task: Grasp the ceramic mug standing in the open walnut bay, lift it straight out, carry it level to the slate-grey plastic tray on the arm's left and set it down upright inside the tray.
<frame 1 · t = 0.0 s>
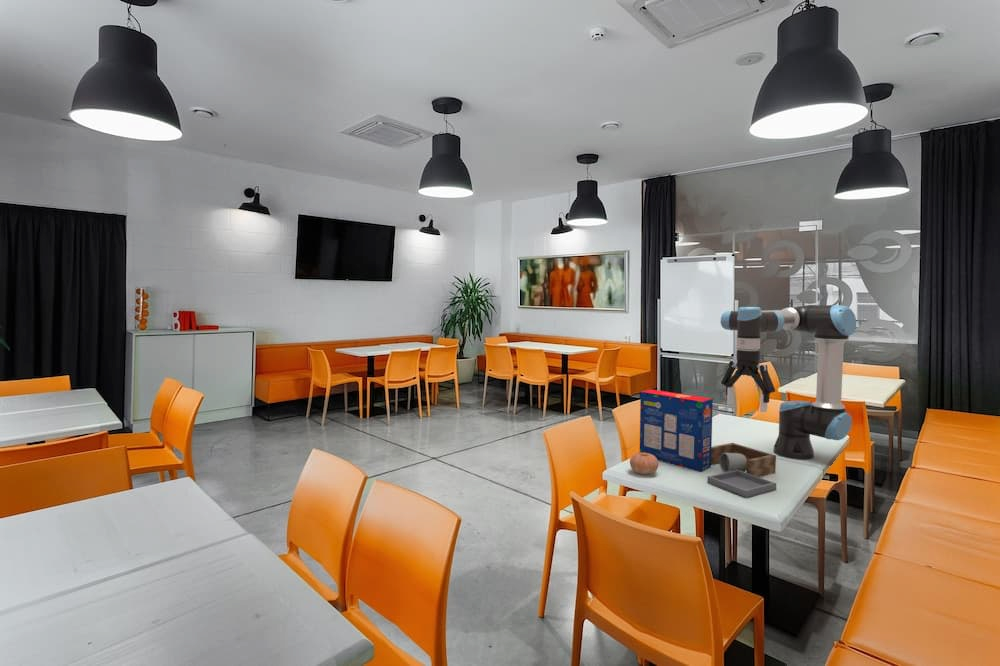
hand: (746, 407, 185), 28 cm above the table, fingers open, 13 cm apart
ceramic mug: (730, 471, 200), on the table
pasta box: (673, 461, 212), on the table
tray: (741, 486, 183), on the table
bay: (731, 470, 200), on the table
orange ribbed round gourd: (643, 473, 198), on the table
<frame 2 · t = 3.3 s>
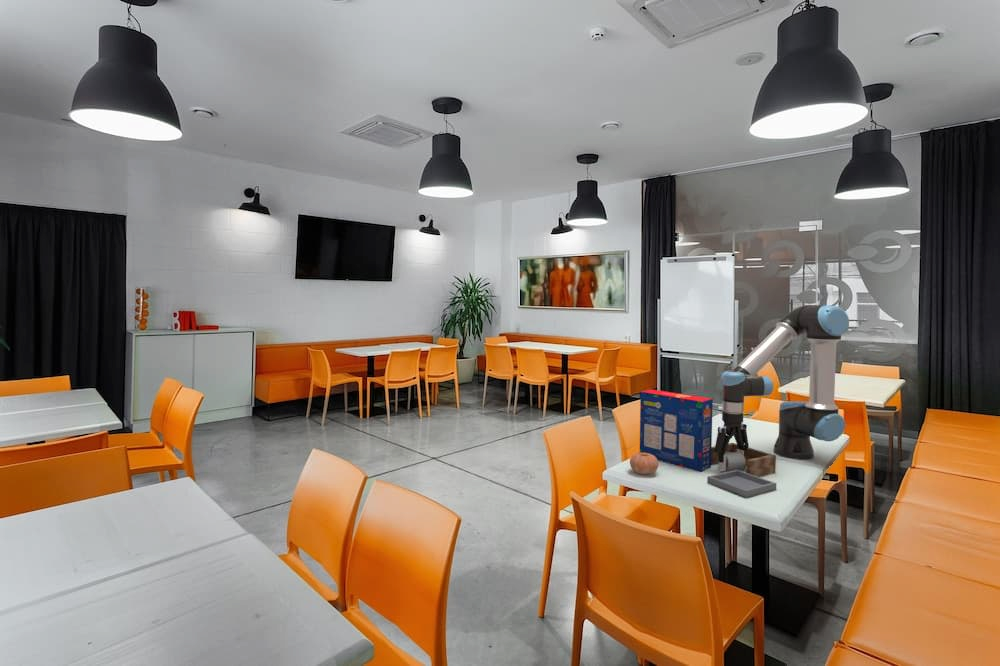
hand: (731, 468, 200), 1 cm above the table, fingers closed on ceramic mug, 9 cm apart
ceramic mug: (729, 470, 201), on the table, touching gripper
everything else where it was.
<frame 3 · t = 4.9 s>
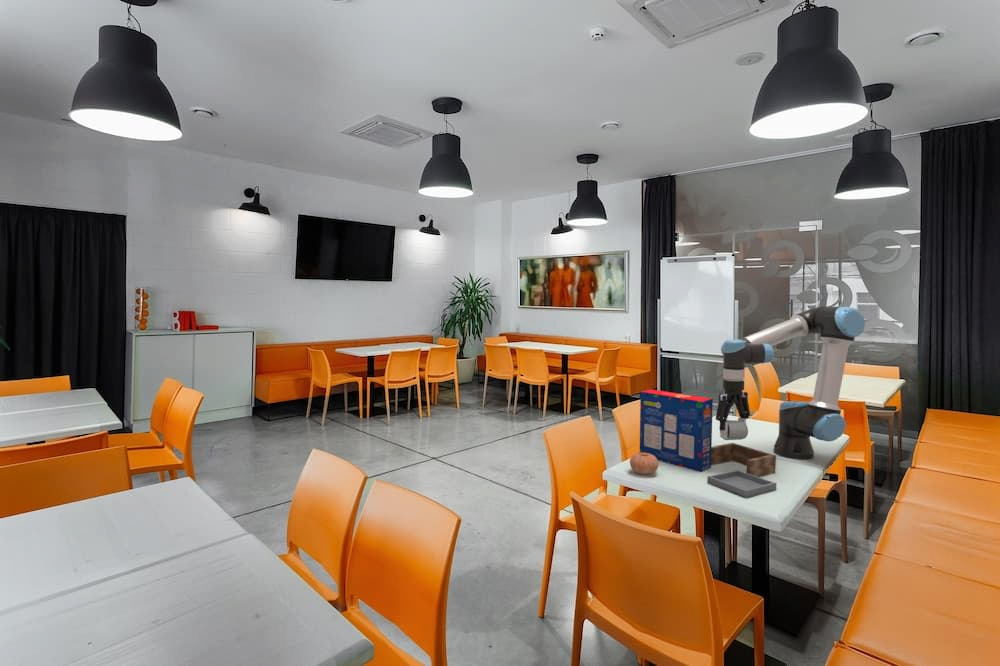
hand: (732, 436, 199), 14 cm above the table, fingers closed on ceramic mug, 9 cm apart
ceramic mug: (731, 439, 200), point 12 cm above the table, touching gripper
everything else where it was.
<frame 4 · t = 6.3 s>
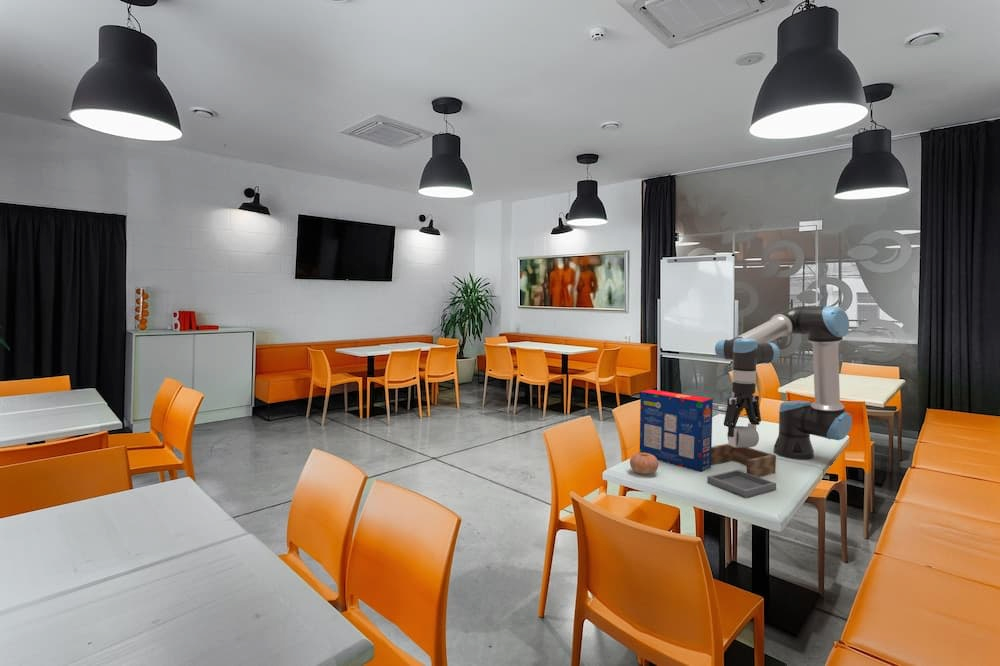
hand: (741, 443, 182), 16 cm above the table, fingers closed on ceramic mug, 9 cm apart
ceramic mug: (739, 446, 183), point 14 cm above the table, touching gripper
everything else where it was.
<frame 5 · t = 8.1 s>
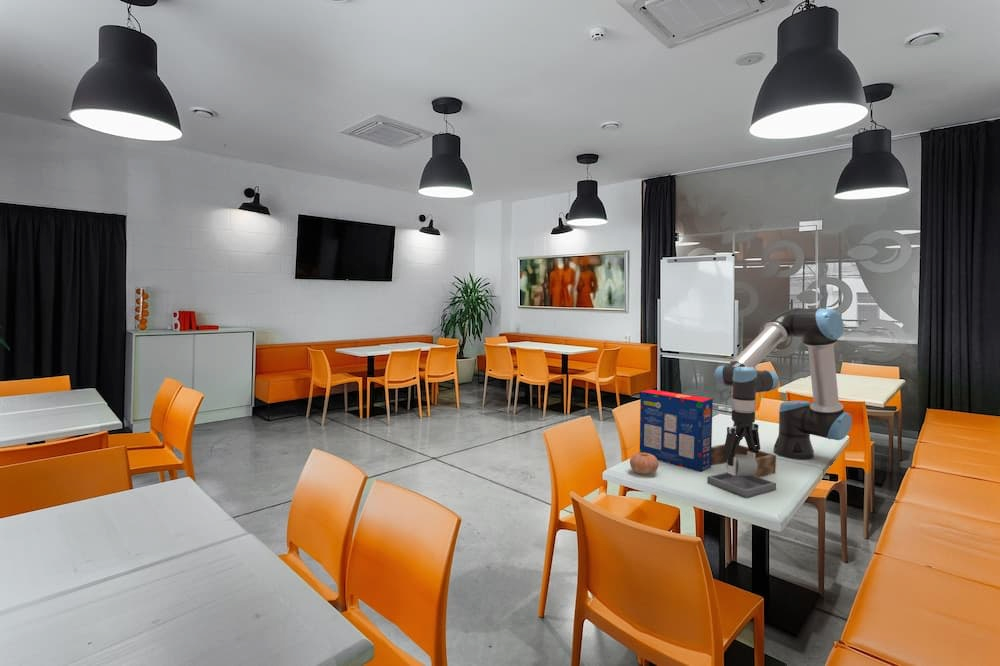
hand: (741, 471, 183), 5 cm above the table, fingers closed on ceramic mug, 9 cm apart
ceramic mug: (739, 474, 184), point 4 cm above the table, touching gripper
everything else where it was.
when the fingers open (3 cm above the table, at t = 9.5 s): ceramic mug drops 1 cm, resting on tray.
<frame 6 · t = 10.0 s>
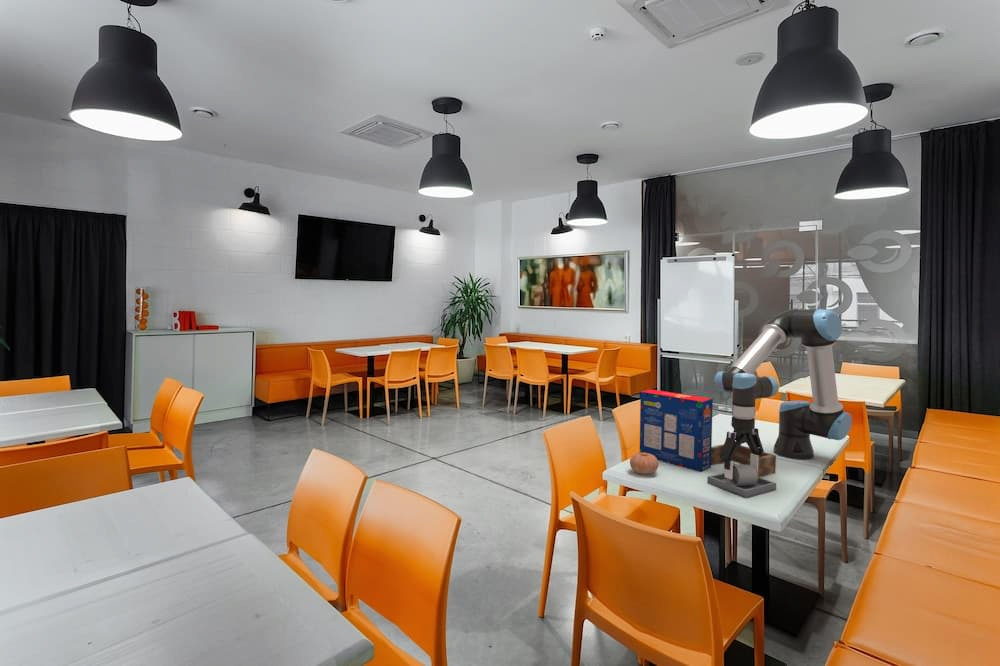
hand: (741, 475, 183), 4 cm above the table, fingers open, 13 cm apart
ceramic mug: (739, 484, 184), resting on tray
everything else where it was.
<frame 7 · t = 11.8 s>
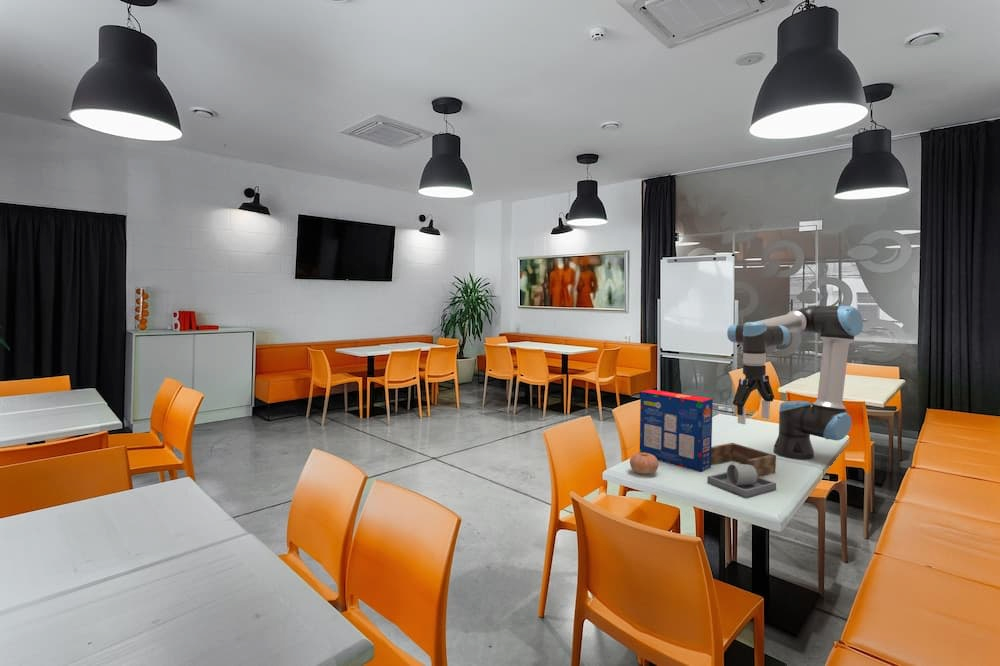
hand: (753, 420, 189), 22 cm above the table, fingers open, 13 cm apart
nothing on the table moved.
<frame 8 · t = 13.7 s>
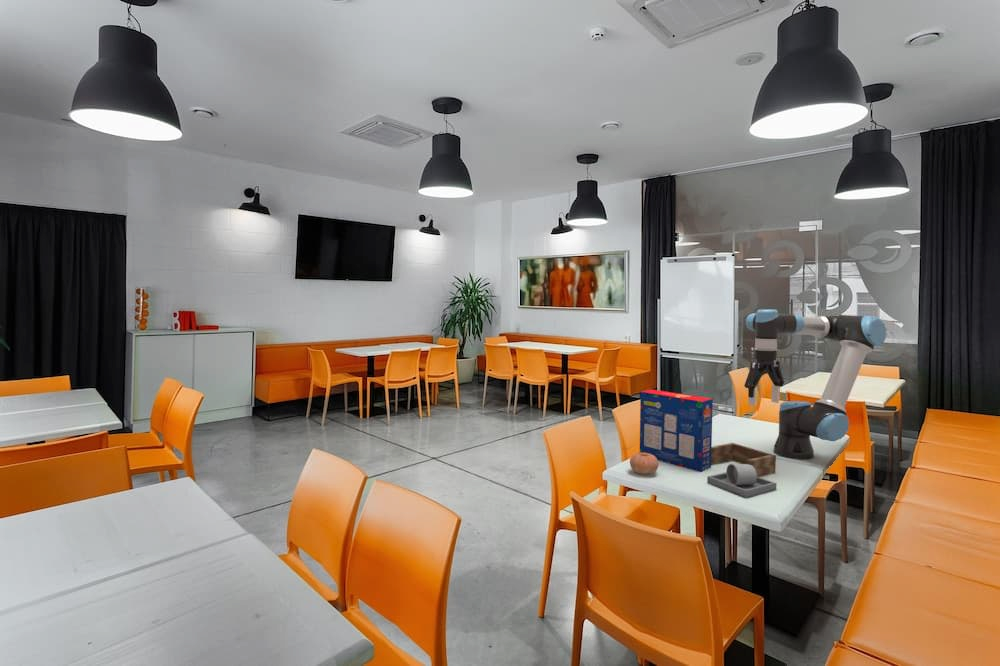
hand: (763, 404, 197), 27 cm above the table, fingers open, 13 cm apart
nothing on the table moved.
at the end: ceramic mug inside the target area on the tray (1.5 cm from its centre), point 0.4 cm above the tray's base; ceramic mug tilted 1°; the gripper is holding nothing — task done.
